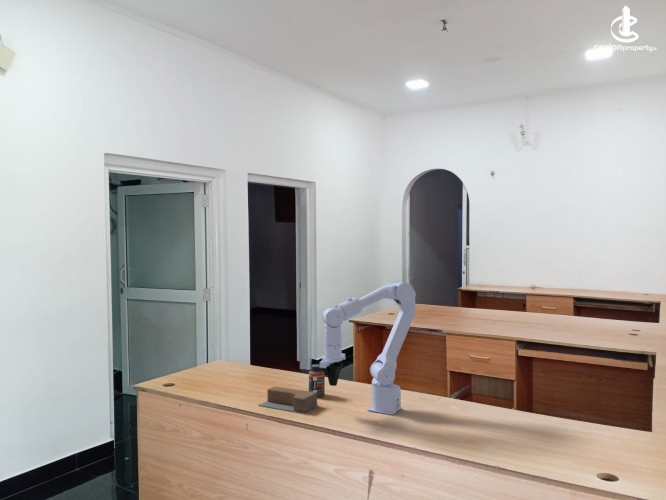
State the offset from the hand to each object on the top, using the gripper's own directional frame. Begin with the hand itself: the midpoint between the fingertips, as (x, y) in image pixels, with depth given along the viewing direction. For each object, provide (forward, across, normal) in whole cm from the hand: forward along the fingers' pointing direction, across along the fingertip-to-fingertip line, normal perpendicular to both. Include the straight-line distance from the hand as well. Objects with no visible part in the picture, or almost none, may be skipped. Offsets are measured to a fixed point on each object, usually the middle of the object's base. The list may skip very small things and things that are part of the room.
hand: (333, 385), depth 172 cm
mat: (+9, 0, -18) cm, 20 cm away
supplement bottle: (+10, -15, -15) cm, 23 cm away
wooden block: (+7, 0, -8) cm, 11 cm away
